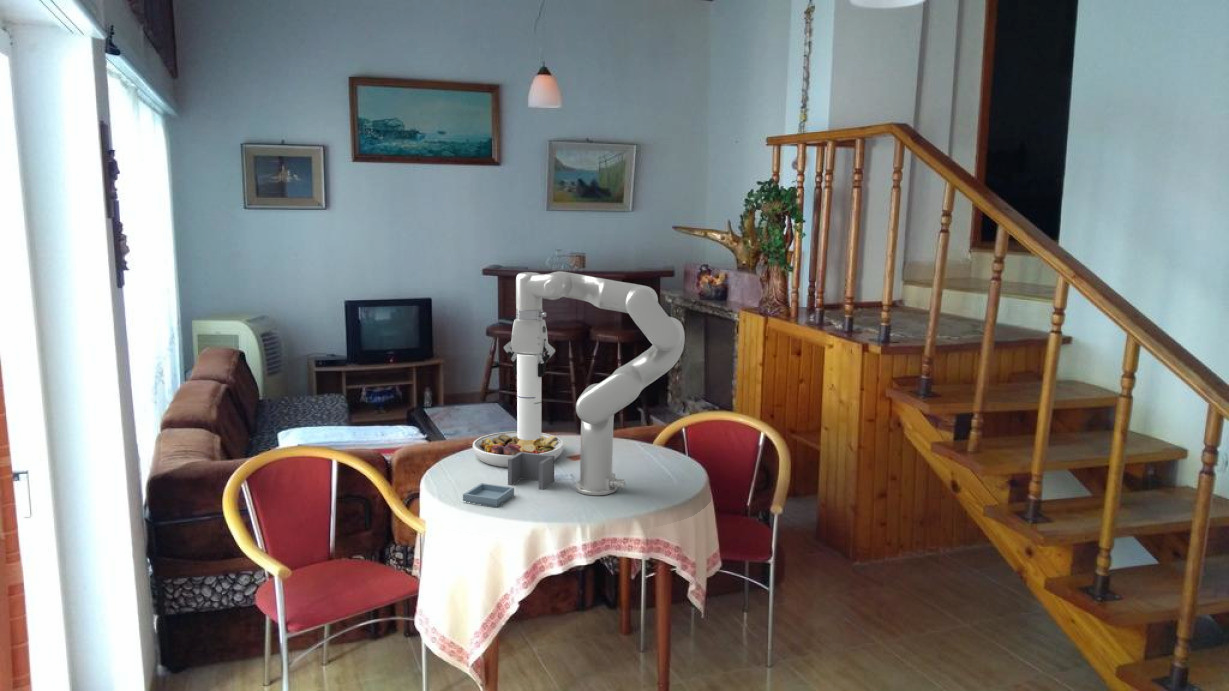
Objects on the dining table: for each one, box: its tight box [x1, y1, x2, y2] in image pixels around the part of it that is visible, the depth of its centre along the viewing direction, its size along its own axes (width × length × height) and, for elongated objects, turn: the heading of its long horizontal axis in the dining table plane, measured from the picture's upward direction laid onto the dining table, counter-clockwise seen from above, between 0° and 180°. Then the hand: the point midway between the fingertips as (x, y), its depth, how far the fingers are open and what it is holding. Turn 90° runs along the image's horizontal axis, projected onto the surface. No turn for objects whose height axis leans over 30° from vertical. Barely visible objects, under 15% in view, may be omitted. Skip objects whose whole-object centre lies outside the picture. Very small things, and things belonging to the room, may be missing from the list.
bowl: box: [472, 431, 564, 468], centre depth 279 cm, size 30×30×8 cm
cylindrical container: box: [516, 353, 542, 440], centre depth 247 cm, size 7×7×25 cm
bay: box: [507, 452, 555, 491], centre depth 252 cm, size 11×8×8 cm
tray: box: [462, 483, 515, 508], centre depth 238 cm, size 11×11×2 cm
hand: (529, 374), depth 246 cm, fingers closed on cylindrical container, 7 cm apart
